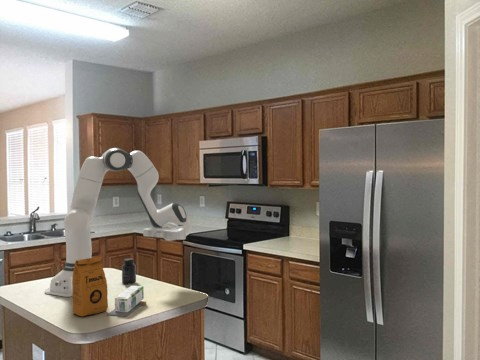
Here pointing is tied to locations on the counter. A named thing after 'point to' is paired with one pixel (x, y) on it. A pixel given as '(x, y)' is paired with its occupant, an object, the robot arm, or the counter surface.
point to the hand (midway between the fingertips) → (154, 235)
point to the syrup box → (129, 298)
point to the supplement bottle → (128, 271)
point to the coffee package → (89, 287)
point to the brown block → (142, 303)
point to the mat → (117, 313)
